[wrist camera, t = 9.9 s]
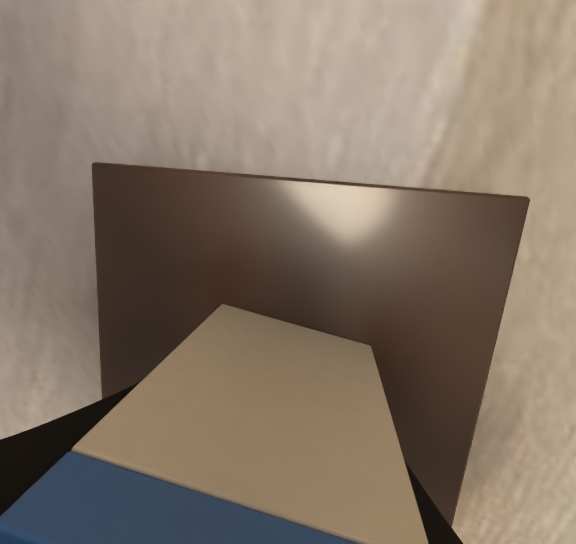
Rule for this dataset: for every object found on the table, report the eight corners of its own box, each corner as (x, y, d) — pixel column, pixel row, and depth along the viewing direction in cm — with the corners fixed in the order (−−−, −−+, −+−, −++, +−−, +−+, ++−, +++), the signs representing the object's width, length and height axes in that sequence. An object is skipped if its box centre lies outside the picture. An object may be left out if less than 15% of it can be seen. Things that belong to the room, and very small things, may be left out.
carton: (195, 430, 11) (-23, 801, 4) (221, 303, 10) (-12, 523, 3) (328, 471, 11) (329, 945, 4) (371, 345, 10) (475, 691, 3)
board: (129, 490, 14) (106, 524, 12) (121, 166, 11) (90, 161, 9) (425, 544, 13) (437, 590, 11) (502, 197, 10) (532, 196, 8)
